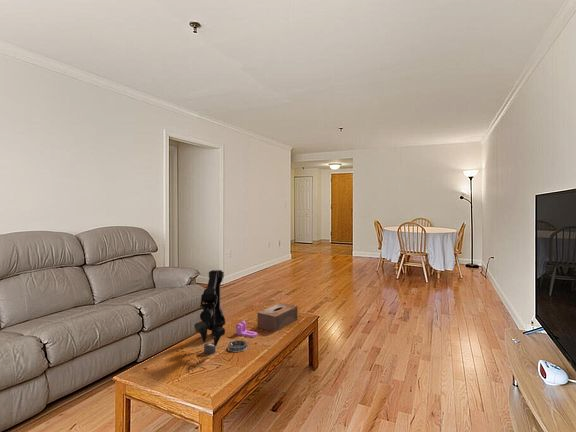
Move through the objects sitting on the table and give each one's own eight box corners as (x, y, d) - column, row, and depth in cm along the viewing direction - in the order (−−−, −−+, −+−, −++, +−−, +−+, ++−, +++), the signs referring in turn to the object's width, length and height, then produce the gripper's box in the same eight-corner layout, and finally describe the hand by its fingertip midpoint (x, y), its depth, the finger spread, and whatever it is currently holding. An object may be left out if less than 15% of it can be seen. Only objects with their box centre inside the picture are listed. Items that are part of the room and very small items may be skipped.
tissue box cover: (280, 316, 238) (280, 302, 237) (297, 320, 230) (297, 306, 229) (257, 327, 216) (257, 312, 216) (275, 332, 208) (275, 316, 208)
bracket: (236, 334, 205) (236, 323, 204) (241, 331, 210) (241, 320, 209) (254, 338, 199) (254, 326, 199) (259, 334, 204) (258, 323, 204)
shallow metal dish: (223, 348, 184) (223, 344, 184) (237, 341, 193) (237, 338, 193) (237, 353, 177) (237, 349, 177) (251, 346, 186) (251, 343, 186)
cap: (201, 352, 179) (201, 345, 179) (210, 348, 184) (210, 341, 184) (209, 355, 176) (208, 347, 176) (217, 351, 180) (217, 344, 180)
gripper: (186, 315, 179) (186, 344, 179) (208, 323, 167) (209, 353, 168) (203, 310, 188) (203, 338, 188) (225, 317, 176) (225, 346, 177)
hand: (209, 343), depth 180 cm, fingers open, 9 cm apart
